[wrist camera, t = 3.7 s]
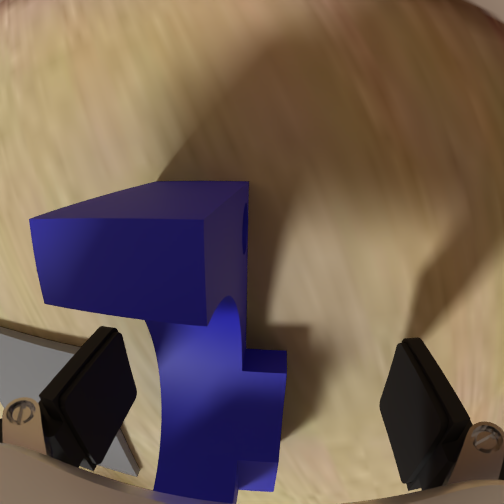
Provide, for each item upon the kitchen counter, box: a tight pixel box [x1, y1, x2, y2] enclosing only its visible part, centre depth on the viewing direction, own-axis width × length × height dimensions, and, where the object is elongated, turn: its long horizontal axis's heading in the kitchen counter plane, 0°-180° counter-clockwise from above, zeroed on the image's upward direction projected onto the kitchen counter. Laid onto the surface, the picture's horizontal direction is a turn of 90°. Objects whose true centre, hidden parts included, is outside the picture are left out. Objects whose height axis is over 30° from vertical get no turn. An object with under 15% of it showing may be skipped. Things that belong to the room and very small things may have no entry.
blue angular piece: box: [29, 181, 287, 504], centre depth 8 cm, size 12×4×6 cm, turn 179°
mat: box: [0, 327, 140, 477], centre depth 14 cm, size 11×10×1 cm
